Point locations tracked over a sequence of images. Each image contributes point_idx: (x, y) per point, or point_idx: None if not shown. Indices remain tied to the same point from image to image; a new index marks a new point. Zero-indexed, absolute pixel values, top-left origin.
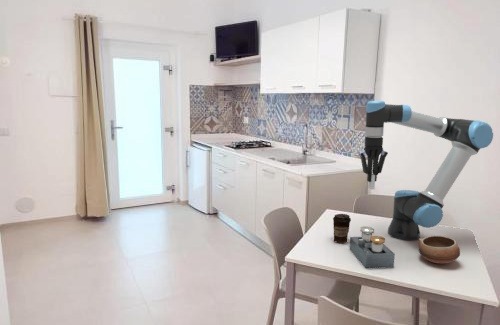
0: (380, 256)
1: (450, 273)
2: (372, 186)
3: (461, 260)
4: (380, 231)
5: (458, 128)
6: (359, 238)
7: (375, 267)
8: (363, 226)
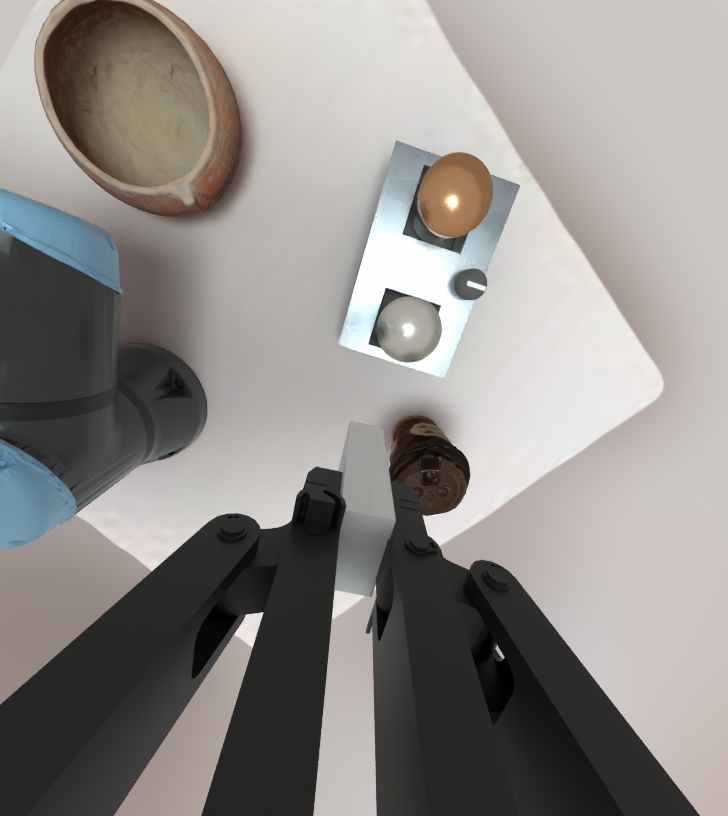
0: None
1: (209, 14)
2: (372, 438)
3: None
4: (217, 455)
5: None
6: None
7: None
8: (405, 362)
